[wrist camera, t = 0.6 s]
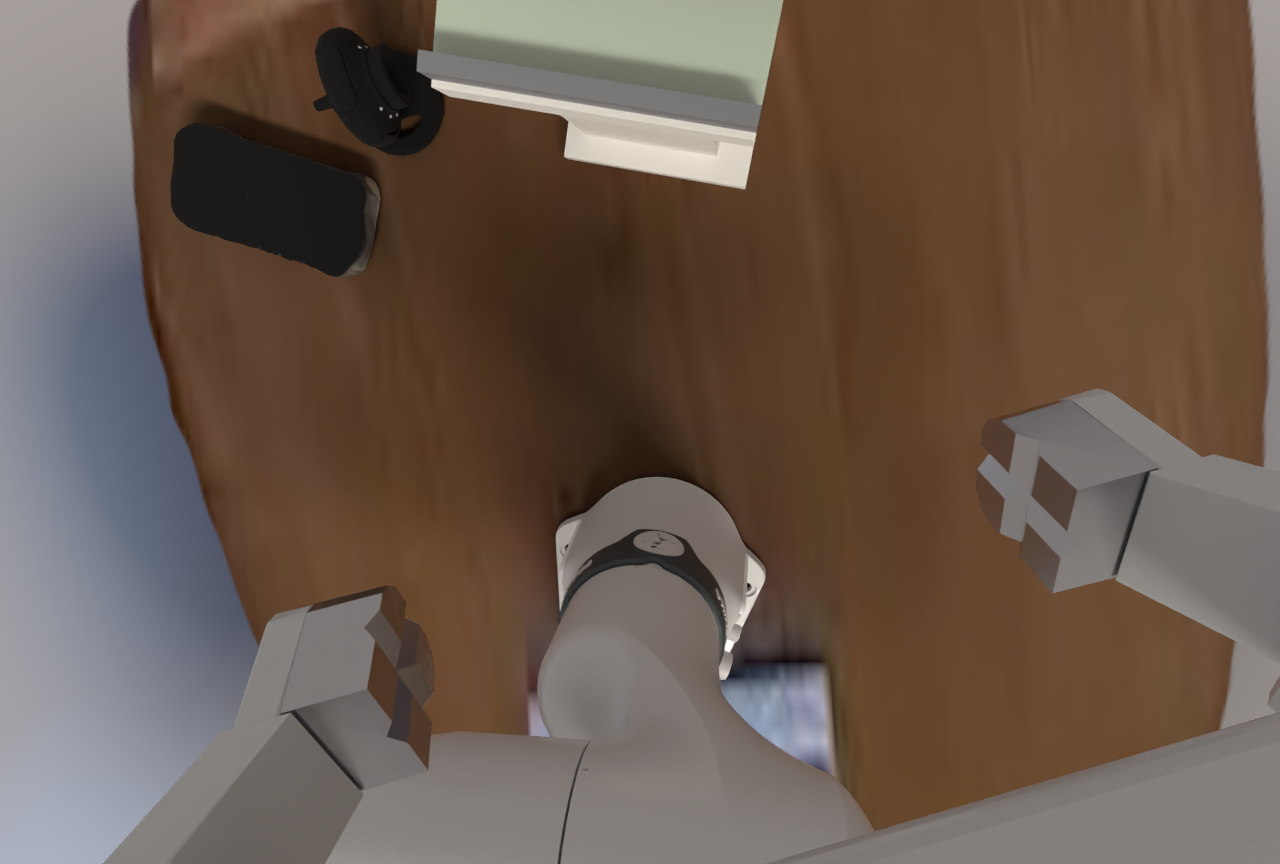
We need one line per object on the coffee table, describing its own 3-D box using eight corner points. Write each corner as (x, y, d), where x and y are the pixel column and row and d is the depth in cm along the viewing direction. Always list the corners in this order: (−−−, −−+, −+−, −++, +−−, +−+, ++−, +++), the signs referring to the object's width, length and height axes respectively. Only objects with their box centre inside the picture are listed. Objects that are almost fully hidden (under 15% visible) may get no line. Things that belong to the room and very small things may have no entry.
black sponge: (198, 223, 60) (165, 222, 57) (210, 122, 58) (176, 114, 55) (374, 282, 60) (352, 284, 56) (394, 182, 57) (372, 178, 54)
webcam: (459, 140, 56) (402, 118, 46) (377, 170, 57) (305, 155, 48) (425, 37, 54) (358, -8, 44) (341, 70, 55) (259, 34, 46)
